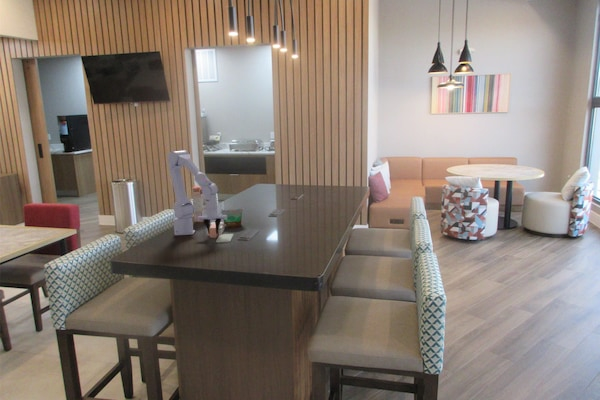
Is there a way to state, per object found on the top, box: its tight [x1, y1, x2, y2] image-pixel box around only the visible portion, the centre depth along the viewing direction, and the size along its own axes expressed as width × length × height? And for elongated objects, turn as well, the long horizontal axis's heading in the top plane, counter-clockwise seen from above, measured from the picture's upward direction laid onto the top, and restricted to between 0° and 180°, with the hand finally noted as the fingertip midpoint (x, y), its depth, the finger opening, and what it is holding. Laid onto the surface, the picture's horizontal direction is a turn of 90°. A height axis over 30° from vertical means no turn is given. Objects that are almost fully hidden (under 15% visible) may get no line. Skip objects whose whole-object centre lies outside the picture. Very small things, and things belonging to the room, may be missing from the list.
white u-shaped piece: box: [206, 221, 226, 237], centre depth 229 cm, size 7×13×4 cm, turn 2°
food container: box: [220, 207, 244, 229], centre depth 239 cm, size 12×6×10 cm, turn 105°
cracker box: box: [191, 185, 206, 223], centre depth 258 cm, size 14×6×21 cm, turn 168°
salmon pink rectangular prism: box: [209, 223, 219, 239], centre depth 224 cm, size 3×10×5 cm, turn 2°
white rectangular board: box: [215, 233, 234, 243], centre depth 216 cm, size 7×13×1 cm, turn 2°
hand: (213, 233), depth 221 cm, fingers closed on salmon pink rectangular prism, 3 cm apart
